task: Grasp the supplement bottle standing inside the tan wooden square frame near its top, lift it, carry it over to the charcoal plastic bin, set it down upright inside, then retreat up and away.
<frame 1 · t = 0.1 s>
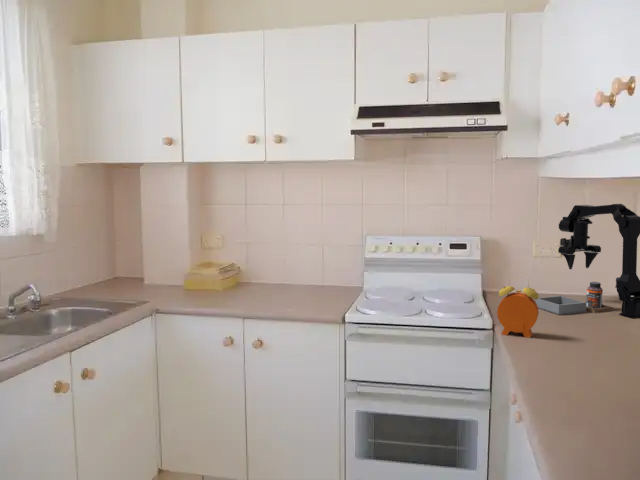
hand: (578, 268, 242), 15 cm above the countertop, fingers open, 9 cm apart
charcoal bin: (559, 309, 228), on the countertop
supplement bottle: (593, 309, 229), resting in tan wooden square frame
tan wooden square frame: (593, 309, 229), on the countertop
alarm clock: (516, 334, 194), on the countertop
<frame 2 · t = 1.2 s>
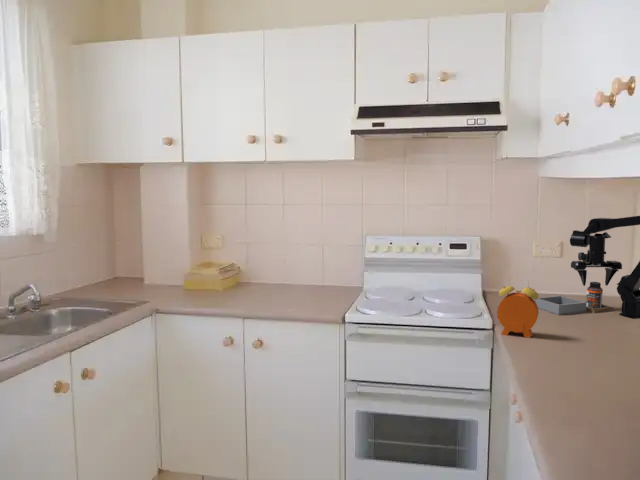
hand: (595, 285, 228), 10 cm above the countertop, fingers open, 9 cm apart
nothing on the countertop moved.
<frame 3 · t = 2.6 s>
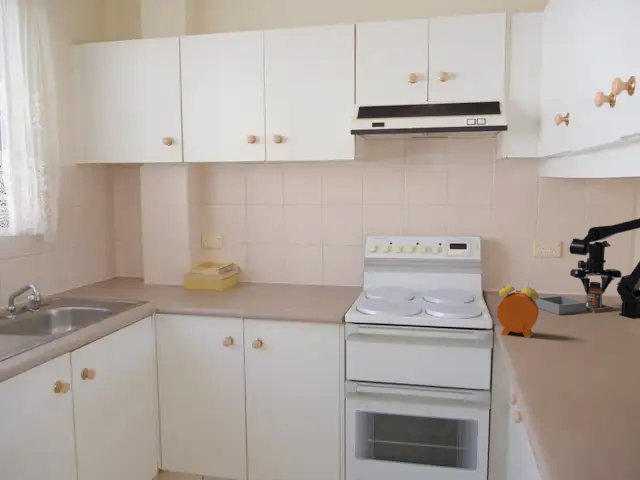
hand: (594, 293, 229), 7 cm above the countertop, fingers closed on supplement bottle, 6 cm apart
supplement bottle: (593, 309, 229), resting in tan wooden square frame, touching gripper
everything else where it was.
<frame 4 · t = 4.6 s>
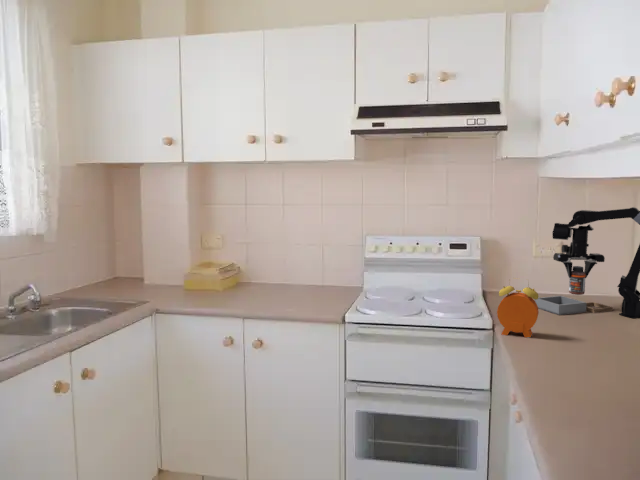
hand: (577, 278, 228), 13 cm above the countertop, fingers closed on supplement bottle, 6 cm apart
supplement bottle: (576, 294, 228), point 6 cm above the countertop, touching gripper
everything else where it was.
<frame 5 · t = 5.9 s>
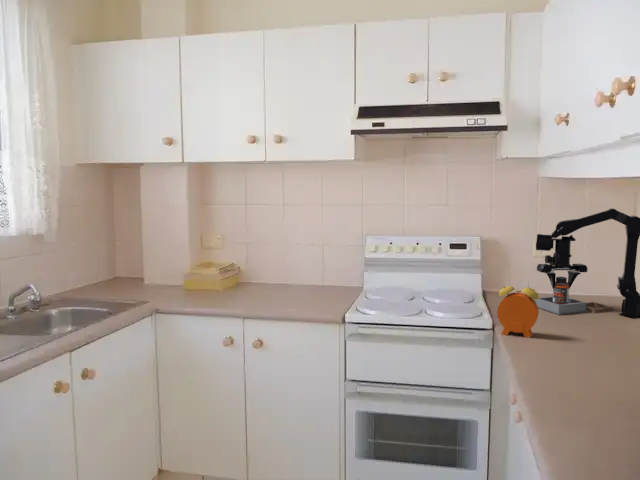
hand: (561, 288, 227), 9 cm above the countertop, fingers closed on supplement bottle, 6 cm apart
supplement bottle: (560, 304, 228), point 2 cm above the countertop, touching gripper
everything else where it was.
when the fingers open (9 cm above the countertop, at t = 6.8 s): supplement bottle drops 1 cm, resting on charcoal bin.
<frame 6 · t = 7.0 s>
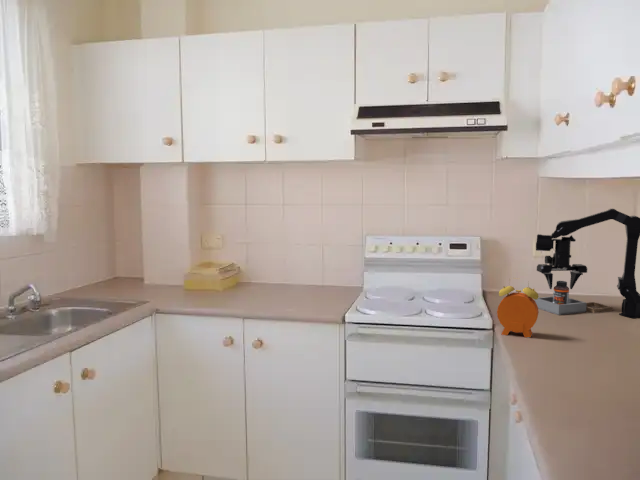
hand: (560, 289, 227), 9 cm above the countertop, fingers open, 8 cm apart
supplement bottle: (560, 308, 228), resting on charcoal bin
everything else where it was.
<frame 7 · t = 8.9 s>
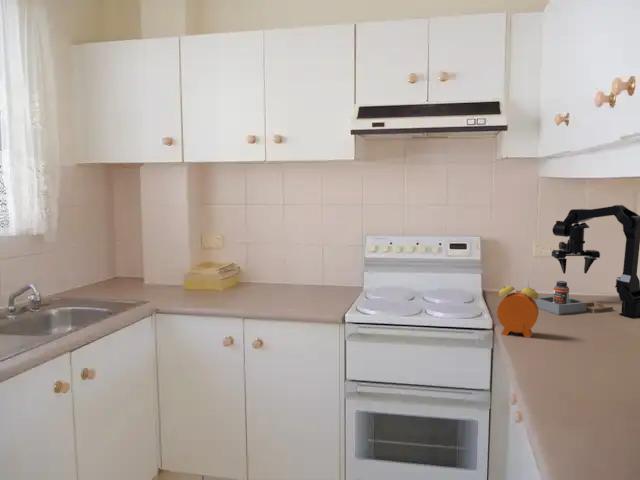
hand: (574, 273, 239), 13 cm above the countertop, fingers open, 9 cm apart
nothing on the countertop moved.
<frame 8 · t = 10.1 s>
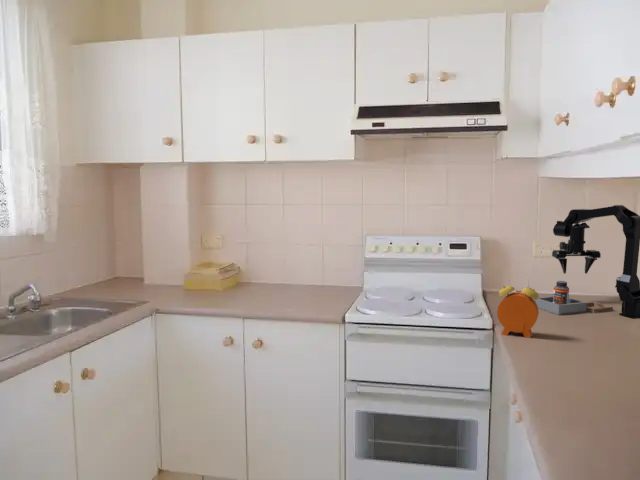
hand: (575, 273, 239), 13 cm above the countertop, fingers open, 9 cm apart
nothing on the countertop moved.
at the end: supplement bottle inside the target area on the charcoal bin (0.2 cm from its centre), point 0.4 cm above the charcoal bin's base; supplement bottle tilted 0°; the gripper is holding nothing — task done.
